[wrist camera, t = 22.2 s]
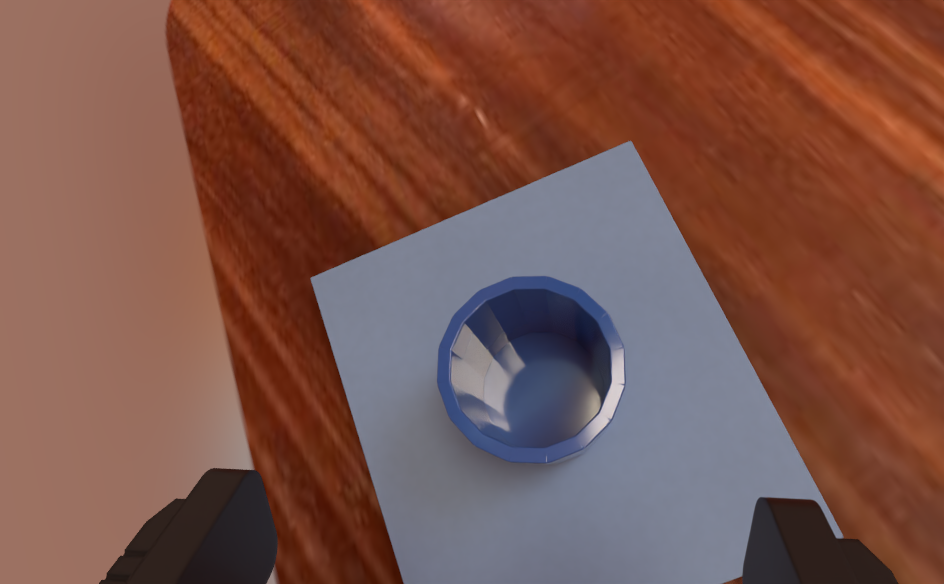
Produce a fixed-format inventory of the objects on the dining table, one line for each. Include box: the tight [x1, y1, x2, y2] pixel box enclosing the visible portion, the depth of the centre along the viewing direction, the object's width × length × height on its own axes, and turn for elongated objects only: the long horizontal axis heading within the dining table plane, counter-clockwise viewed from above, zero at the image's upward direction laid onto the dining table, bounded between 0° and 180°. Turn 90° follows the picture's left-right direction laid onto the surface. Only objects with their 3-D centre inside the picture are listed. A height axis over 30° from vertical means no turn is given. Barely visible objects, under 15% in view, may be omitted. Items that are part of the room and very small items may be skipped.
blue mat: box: [311, 141, 843, 584], centre depth 29 cm, size 18×20×1 cm
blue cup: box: [437, 276, 626, 464], centre depth 25 cm, size 6×6×8 cm
